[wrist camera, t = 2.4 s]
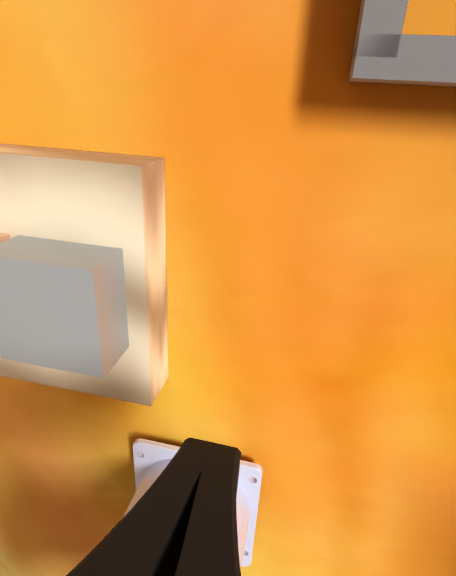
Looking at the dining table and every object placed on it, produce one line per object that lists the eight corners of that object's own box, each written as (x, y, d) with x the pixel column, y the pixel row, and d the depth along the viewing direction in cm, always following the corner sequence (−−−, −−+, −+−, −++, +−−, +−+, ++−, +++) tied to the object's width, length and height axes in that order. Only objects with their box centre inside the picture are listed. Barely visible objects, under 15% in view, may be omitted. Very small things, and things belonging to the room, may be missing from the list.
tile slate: (129, 346, 19) (103, 378, 17) (36, 330, 20) (1, 358, 18) (122, 248, 17) (92, 270, 15) (19, 235, 18) (-25, 254, 16)
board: (168, 376, 23) (151, 406, 20) (-36, 338, 25) (-70, 361, 23) (164, 157, 17) (140, 166, 15) (-93, 135, 20) (-145, 140, 18)
